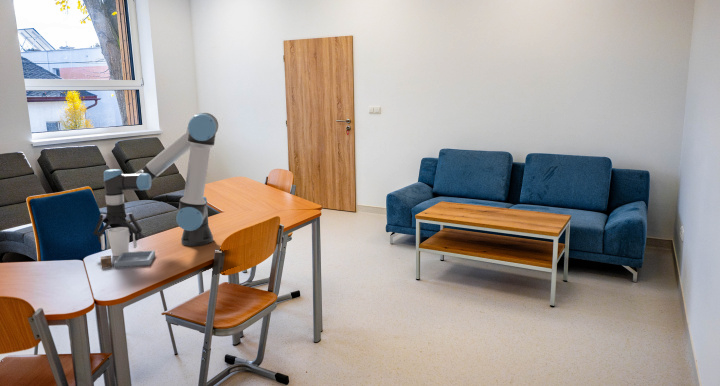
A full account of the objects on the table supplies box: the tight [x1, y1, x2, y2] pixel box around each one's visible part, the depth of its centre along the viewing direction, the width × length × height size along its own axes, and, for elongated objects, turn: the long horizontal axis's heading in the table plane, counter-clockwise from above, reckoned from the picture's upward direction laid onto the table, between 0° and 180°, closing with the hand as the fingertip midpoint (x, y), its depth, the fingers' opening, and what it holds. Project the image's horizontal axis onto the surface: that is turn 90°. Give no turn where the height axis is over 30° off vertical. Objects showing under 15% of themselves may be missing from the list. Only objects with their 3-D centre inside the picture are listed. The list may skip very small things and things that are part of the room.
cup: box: [107, 226, 130, 257], centre depth 230 cm, size 9×9×12 cm
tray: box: [113, 249, 156, 269], centre depth 220 cm, size 14×14×2 cm
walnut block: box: [100, 255, 113, 269], centre depth 215 cm, size 4×4×4 cm
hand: (119, 248), depth 230 cm, fingers open, 13 cm apart
